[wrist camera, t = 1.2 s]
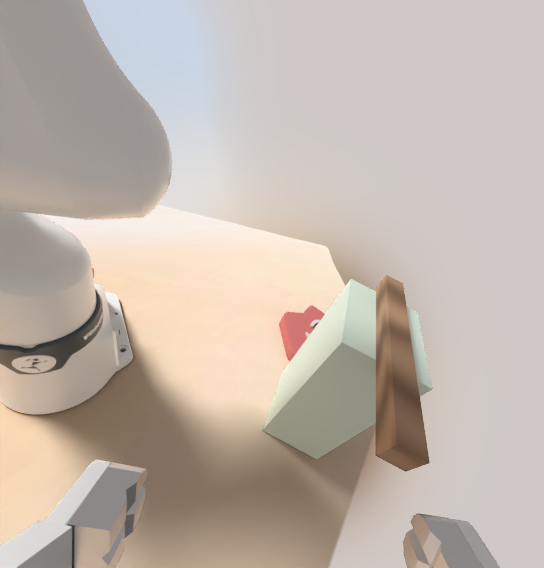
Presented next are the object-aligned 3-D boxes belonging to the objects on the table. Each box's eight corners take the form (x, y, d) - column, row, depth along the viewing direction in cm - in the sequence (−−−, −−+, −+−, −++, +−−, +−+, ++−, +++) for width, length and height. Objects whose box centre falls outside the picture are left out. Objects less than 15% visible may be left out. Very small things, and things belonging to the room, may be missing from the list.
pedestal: (316, 459, 42) (432, 388, 25) (262, 430, 42) (341, 342, 26) (327, 394, 51) (417, 312, 35) (282, 371, 52) (350, 278, 35)
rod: (405, 471, 19) (429, 462, 17) (375, 455, 19) (396, 445, 17) (391, 295, 36) (402, 283, 34) (375, 287, 36) (386, 275, 34)
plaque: (342, 307, 68) (366, 358, 57) (335, 316, 70) (357, 366, 60) (280, 300, 61) (294, 356, 51) (274, 310, 64) (287, 366, 53)
